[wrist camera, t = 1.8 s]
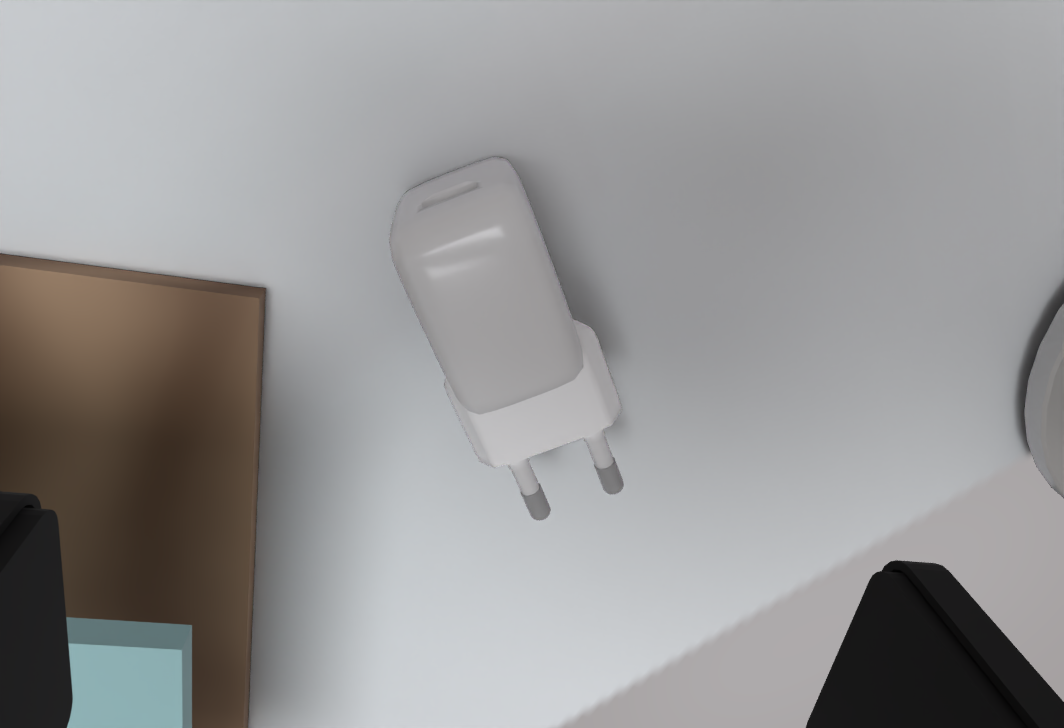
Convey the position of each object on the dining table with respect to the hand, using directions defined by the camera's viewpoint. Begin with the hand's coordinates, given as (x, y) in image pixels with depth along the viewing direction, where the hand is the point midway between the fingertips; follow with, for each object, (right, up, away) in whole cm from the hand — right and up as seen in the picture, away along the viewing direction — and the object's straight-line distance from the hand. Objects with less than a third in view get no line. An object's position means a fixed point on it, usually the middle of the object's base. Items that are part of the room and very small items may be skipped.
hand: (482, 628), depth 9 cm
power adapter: (0, +4, +15) cm, 15 cm away
